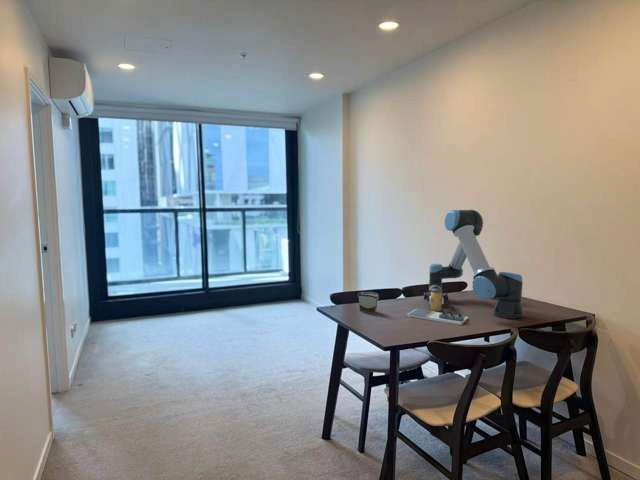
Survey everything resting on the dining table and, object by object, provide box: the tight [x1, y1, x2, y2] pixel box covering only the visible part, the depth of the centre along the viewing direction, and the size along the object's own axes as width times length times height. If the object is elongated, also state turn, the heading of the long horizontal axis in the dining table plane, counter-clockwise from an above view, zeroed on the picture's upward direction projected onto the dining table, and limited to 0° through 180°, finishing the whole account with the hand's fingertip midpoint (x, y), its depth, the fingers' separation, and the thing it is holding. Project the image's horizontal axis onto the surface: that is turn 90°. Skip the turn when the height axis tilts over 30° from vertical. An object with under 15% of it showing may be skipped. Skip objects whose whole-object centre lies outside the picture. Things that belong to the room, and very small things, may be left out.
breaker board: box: [406, 308, 469, 326], centre depth 229 cm, size 28×13×5 cm, turn 57°
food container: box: [357, 291, 380, 314], centre depth 241 cm, size 12×6×10 cm, turn 57°
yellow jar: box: [429, 288, 444, 312], centre depth 245 cm, size 6×6×12 cm
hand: (436, 301), depth 240 cm, fingers closed on yellow jar, 6 cm apart
